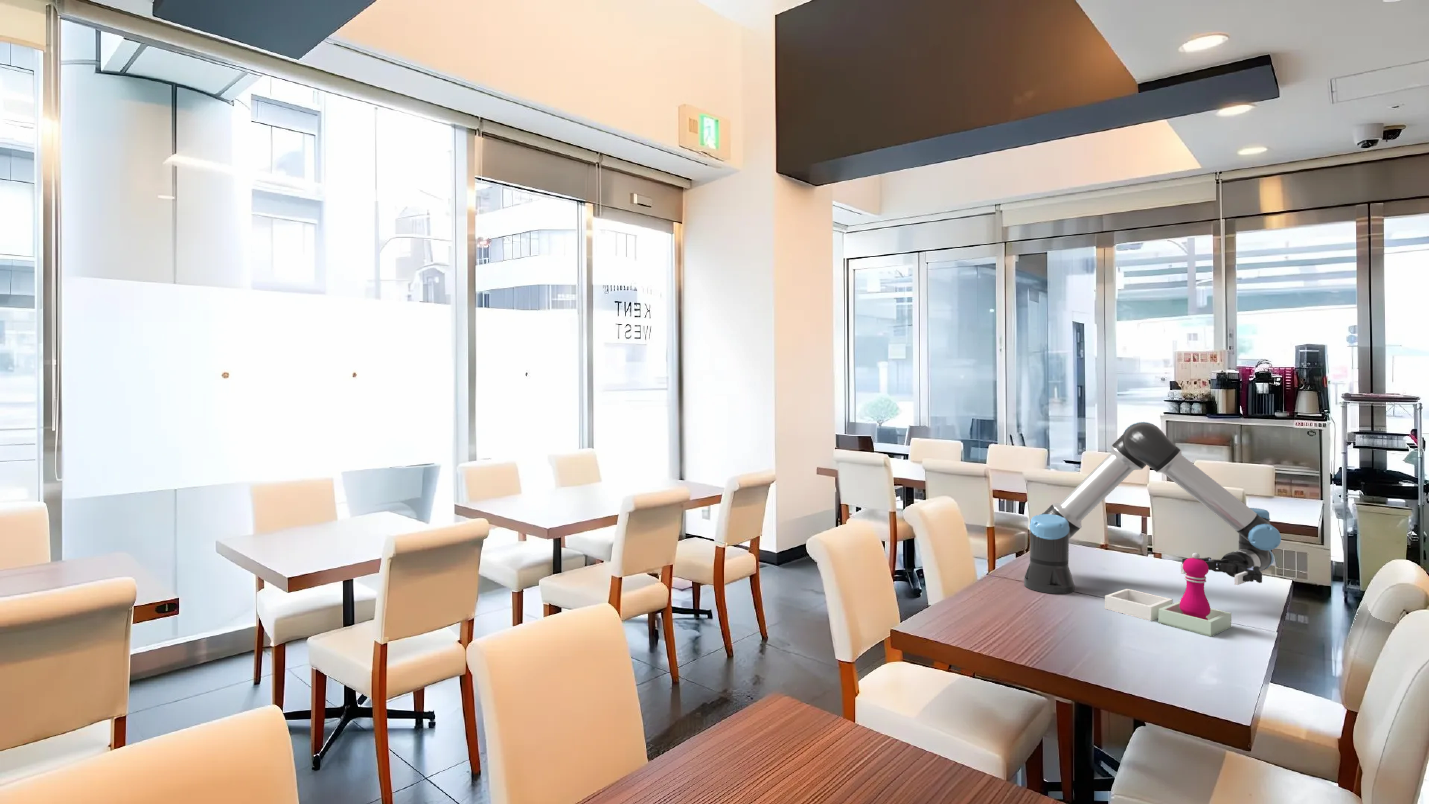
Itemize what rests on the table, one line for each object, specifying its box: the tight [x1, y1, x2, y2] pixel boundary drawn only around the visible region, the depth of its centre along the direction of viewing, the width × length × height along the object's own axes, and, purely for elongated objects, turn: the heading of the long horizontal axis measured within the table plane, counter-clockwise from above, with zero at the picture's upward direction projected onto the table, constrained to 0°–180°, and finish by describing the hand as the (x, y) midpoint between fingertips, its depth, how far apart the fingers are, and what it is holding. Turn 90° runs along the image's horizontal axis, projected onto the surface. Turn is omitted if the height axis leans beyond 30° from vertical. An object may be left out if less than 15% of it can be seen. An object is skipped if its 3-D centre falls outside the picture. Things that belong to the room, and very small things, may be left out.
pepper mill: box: [1179, 552, 1211, 620], centre depth 197 cm, size 7×7×20 cm
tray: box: [1157, 600, 1232, 637], centre depth 197 cm, size 13×13×4 cm
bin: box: [1104, 588, 1173, 622], centre depth 210 cm, size 13×13×4 cm
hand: (1208, 574), depth 201 cm, fingers open, 13 cm apart
